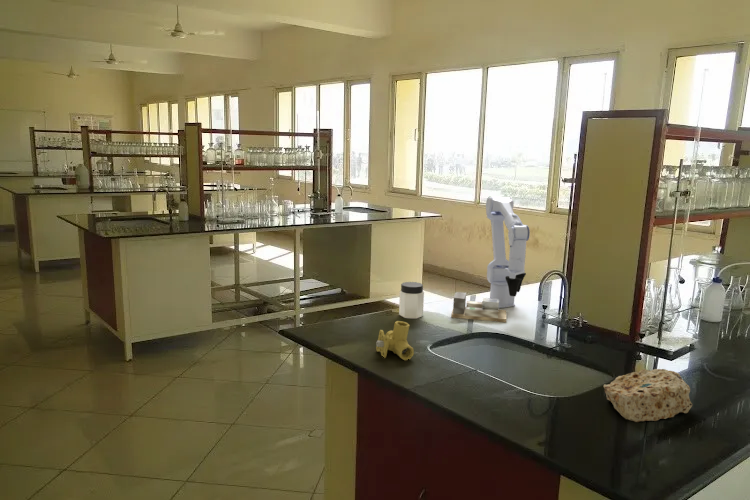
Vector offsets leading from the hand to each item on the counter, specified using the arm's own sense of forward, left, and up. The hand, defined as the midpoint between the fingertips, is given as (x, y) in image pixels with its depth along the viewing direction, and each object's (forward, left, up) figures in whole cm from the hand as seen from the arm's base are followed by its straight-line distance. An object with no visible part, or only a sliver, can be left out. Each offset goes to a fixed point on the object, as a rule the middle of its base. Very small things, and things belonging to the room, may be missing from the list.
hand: (514, 293), depth 208 cm
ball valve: (+59, +14, -10) cm, 62 cm away
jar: (+34, -18, -10) cm, 39 cm away
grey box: (+8, -4, -8) cm, 12 cm away
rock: (+19, +71, -10) cm, 74 cm away
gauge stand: (+10, -8, -9) cm, 16 cm away
